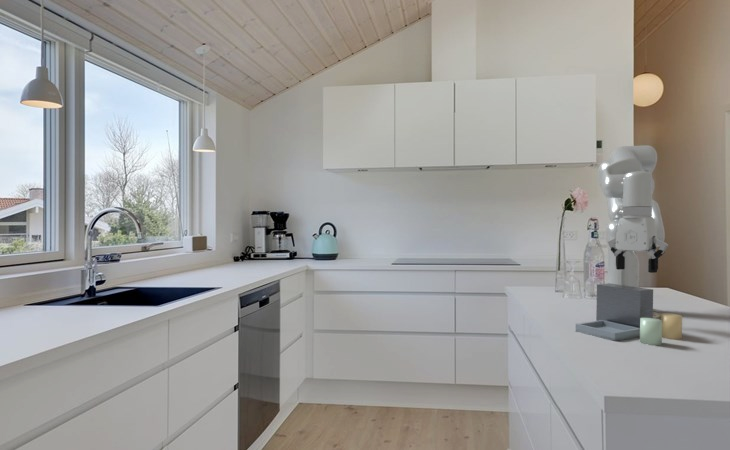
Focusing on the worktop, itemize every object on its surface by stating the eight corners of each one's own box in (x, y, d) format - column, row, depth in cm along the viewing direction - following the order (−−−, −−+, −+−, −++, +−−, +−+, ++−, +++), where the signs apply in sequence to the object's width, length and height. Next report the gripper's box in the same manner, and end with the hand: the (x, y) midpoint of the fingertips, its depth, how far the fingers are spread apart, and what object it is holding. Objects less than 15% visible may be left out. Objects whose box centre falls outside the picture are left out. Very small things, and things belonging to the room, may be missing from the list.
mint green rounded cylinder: (646, 339, 120) (647, 316, 120) (665, 344, 116) (666, 320, 116) (635, 341, 118) (636, 318, 118) (654, 346, 114) (655, 322, 114)
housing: (609, 321, 141) (609, 282, 141) (655, 332, 129) (656, 289, 128) (593, 324, 137) (593, 284, 137) (639, 335, 125) (640, 291, 125)
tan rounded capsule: (666, 334, 127) (667, 312, 126) (685, 338, 122) (686, 316, 122) (656, 336, 124) (657, 314, 124) (675, 340, 120) (676, 317, 120)
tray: (602, 326, 134) (602, 319, 134) (641, 336, 124) (641, 328, 124) (575, 330, 129) (575, 323, 129) (614, 340, 119) (614, 333, 119)
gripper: (602, 213, 142) (601, 268, 142) (659, 212, 127) (658, 274, 127) (617, 214, 146) (616, 268, 146) (675, 213, 131) (674, 273, 130)
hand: (636, 270), depth 136 cm, fingers open, 9 cm apart
